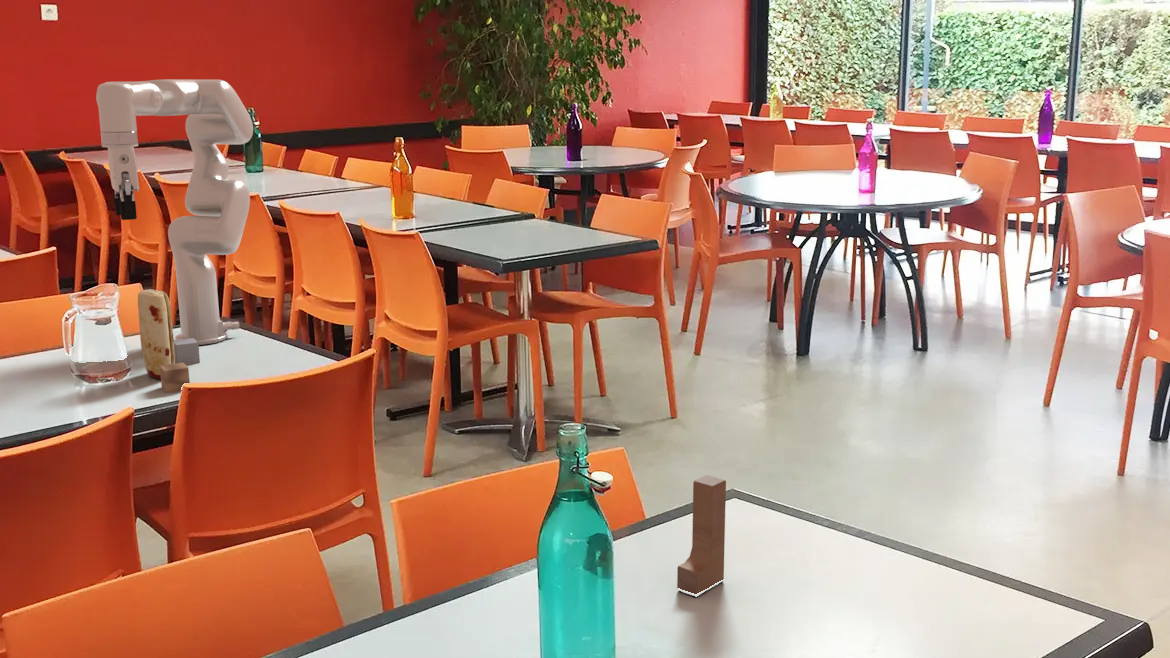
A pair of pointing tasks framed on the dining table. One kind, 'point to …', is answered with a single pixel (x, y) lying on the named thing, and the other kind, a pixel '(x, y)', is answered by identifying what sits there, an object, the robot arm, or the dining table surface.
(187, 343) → the slate cube
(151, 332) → the food model
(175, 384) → the walnut cube
